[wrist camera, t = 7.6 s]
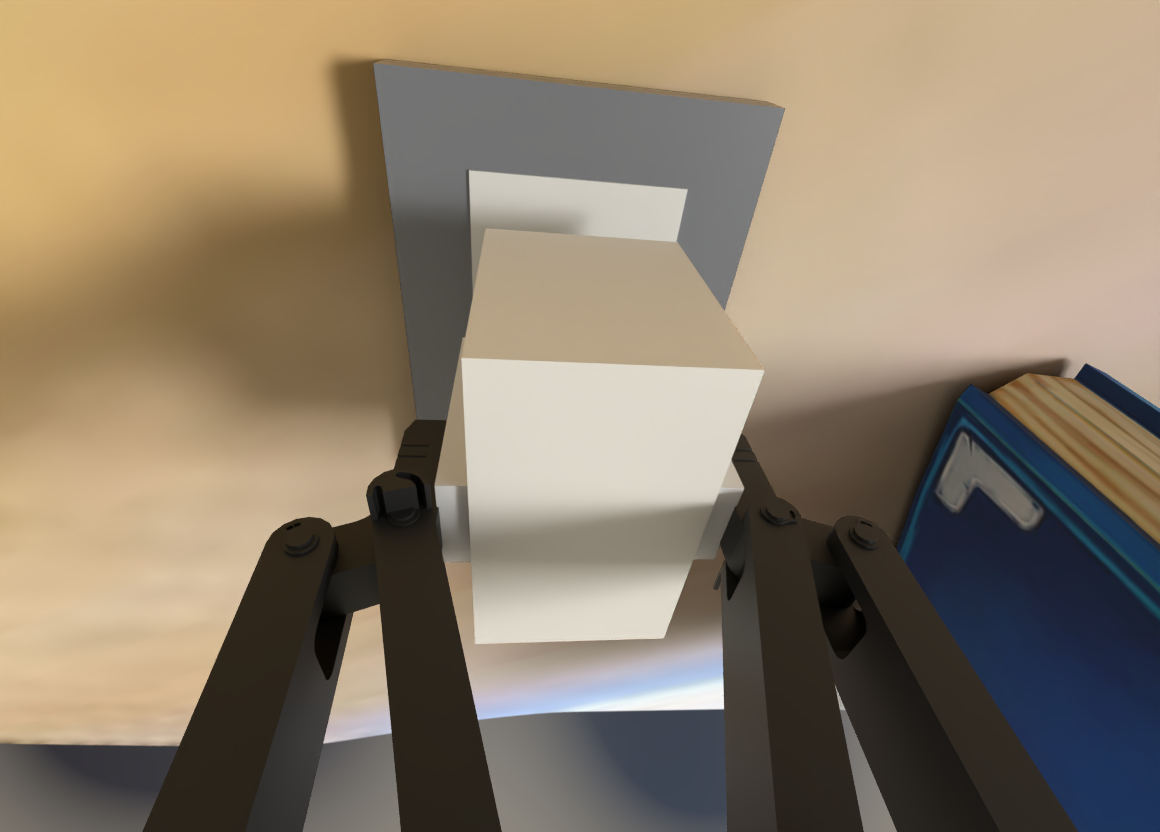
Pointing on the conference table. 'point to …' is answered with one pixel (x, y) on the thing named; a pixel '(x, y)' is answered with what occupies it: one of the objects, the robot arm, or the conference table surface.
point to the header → (552, 183)
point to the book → (1055, 579)
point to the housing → (593, 432)
